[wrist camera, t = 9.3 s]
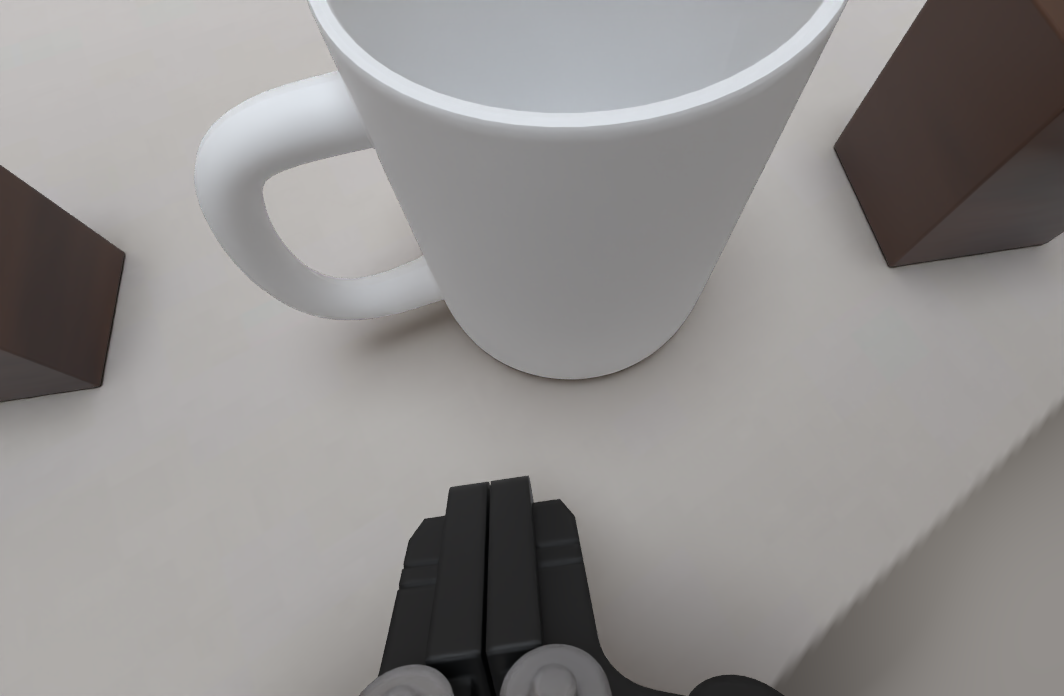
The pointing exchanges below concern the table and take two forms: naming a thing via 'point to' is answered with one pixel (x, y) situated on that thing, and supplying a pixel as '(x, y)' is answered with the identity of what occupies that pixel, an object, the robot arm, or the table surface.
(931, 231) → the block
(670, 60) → the cup
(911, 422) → the table surface
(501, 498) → the robot arm
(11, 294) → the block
